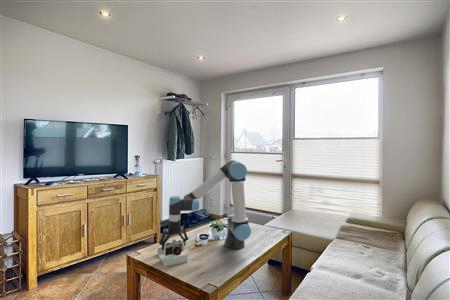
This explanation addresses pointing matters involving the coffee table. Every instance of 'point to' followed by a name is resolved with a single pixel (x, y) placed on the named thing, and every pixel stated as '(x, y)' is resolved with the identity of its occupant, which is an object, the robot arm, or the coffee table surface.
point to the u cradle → (171, 258)
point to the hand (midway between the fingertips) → (173, 252)
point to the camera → (173, 248)
